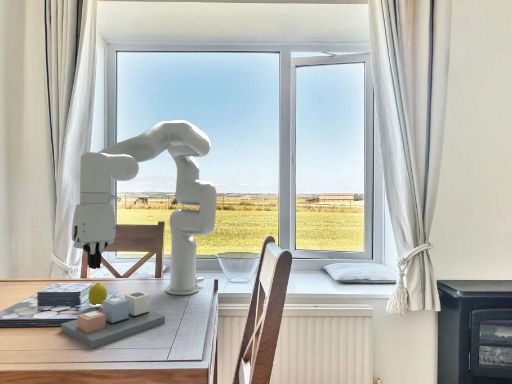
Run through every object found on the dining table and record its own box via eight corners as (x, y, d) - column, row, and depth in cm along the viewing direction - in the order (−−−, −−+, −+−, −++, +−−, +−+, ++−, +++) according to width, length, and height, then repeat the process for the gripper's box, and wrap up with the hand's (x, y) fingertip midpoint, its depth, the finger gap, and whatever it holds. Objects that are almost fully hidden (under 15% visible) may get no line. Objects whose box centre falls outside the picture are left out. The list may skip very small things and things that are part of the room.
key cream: (138, 307, 108) (139, 290, 108) (148, 311, 105) (149, 294, 105) (124, 311, 104) (124, 294, 104) (134, 315, 101) (135, 297, 101)
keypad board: (132, 309, 113) (132, 303, 113) (164, 322, 103) (164, 316, 103) (61, 331, 95) (61, 323, 95) (92, 348, 86) (92, 340, 86)
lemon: (99, 311, 111) (100, 286, 111) (84, 309, 112) (85, 284, 112) (110, 305, 116) (111, 281, 116) (95, 303, 117) (96, 280, 117)
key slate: (118, 313, 103) (118, 295, 103) (128, 317, 100) (128, 299, 100) (102, 318, 99) (102, 299, 99) (112, 322, 96) (112, 303, 96)
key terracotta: (95, 328, 97) (95, 309, 97) (105, 333, 94) (105, 313, 94) (77, 333, 93) (77, 314, 93) (86, 339, 90) (87, 319, 90)
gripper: (113, 198, 101) (112, 261, 102) (59, 199, 89) (58, 270, 90) (128, 199, 97) (127, 265, 98) (74, 200, 85) (73, 276, 85)
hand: (94, 267), depth 94 cm, fingers closed
